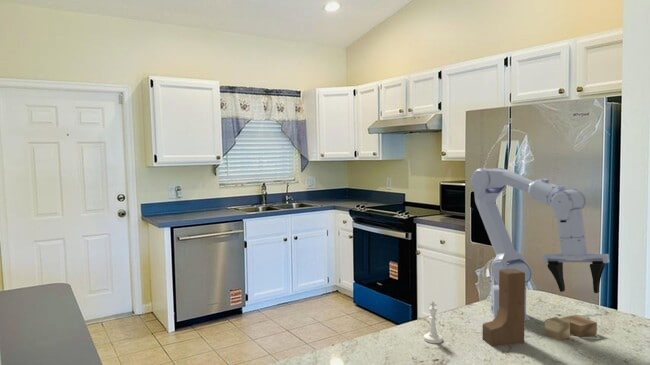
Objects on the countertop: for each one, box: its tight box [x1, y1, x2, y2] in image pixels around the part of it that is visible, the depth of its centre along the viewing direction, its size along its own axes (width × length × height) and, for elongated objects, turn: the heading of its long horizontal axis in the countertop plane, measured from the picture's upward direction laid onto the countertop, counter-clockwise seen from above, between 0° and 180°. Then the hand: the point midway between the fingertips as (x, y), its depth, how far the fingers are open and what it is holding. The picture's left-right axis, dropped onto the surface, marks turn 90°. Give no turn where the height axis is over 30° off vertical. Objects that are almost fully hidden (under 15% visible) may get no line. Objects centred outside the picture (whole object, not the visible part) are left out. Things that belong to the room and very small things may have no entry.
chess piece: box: [422, 300, 444, 344], centre depth 114 cm, size 5×5×10 cm
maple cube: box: [544, 316, 571, 341], centre depth 114 cm, size 4×4×4 cm
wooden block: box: [481, 269, 526, 347], centre depth 111 cm, size 9×4×18 cm, turn 101°
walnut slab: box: [560, 314, 598, 339], centre depth 116 cm, size 6×6×3 cm
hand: (579, 291), depth 112 cm, fingers open, 7 cm apart
